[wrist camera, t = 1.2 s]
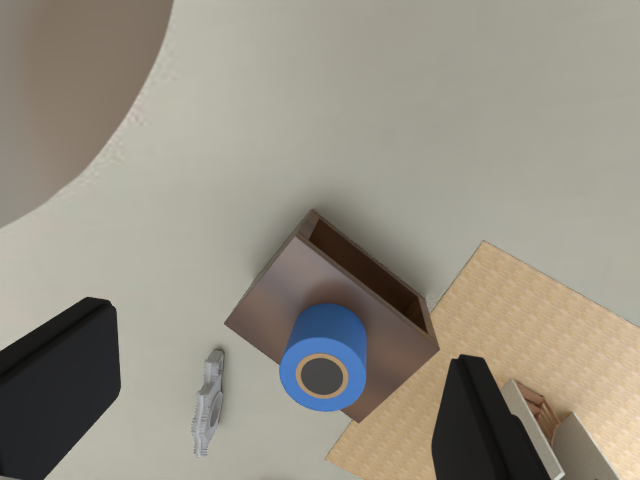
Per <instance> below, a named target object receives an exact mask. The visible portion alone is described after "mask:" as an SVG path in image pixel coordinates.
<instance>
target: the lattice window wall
mask: <svg viewBox="0 0 640 480" xmlns="http://www.w3.org/2000/svg"><path fill="white" fill-rule="evenodd" d="M204 363H205V364H204V365H205V374H204V376H205V377H204V378H205V379H204V385H203V387H202V388H201V390H200V391H197V393H196V394H197V396H198V397H197V405H196V406H197V408H196V411H195V413H196V414H195V418H193V420H194V421H192V423H193V424H192V428H191V429H192V431H191V432H192V434H193V435H192V436H194V439H195V440H194V441H195V447H194V448H195V449H194V451H195V452H194V454H196V455H197V458H200V456H207V454H206V453H207V452H206V451H207V450H208V449H206V448H208V447H207V446H208V444H209V442H210V440H211V438H212V436H213V434H214V432H215V430H216V428H217V426H218V419H219V413H220V410H221V405H222V399H223V394H222V392H220V391H221V377H222V369H223V351H218V350H214V351H213V352H212V353H211V354H210V356H209V357H208V359H207V360H205V362H204Z"/></svg>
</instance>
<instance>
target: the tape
mask: <svg viewBox="0 0 640 480" xmlns="http://www.w3.org/2000/svg"><path fill="white" fill-rule="evenodd" d="M366 343H367V338H366V331H365V328H364V325H363V323H362V322H361V320H360V319H359V318H358V316H357V315H356V314H354V313H353V312H352V311H351V310H349V309H347V308H345V307H343V306H340V305H337V304H331V303H324V304H318V305H314V306H312V307H310V308H308V309H306V310H305V311H303V312H302V313H301V314H300V315H299V317H298V318H297V319H296V321H295V324H294V326H293V329H292V332H291V334H290V337H289V340H288V343H287V346H286V348H285V351H284V354H283V357H282V359H281V362H280V368H279V373H280V379H281V383H282V385H283V387H284V389H285V391H286V392H287V393H288V395H289V396H290V397H291V398H292V399H293V400H295V401H296V402H297V403H299V404H300V405H302V406H304V407H306V408H309V409H312V410H316V411H325V412H328V411H336V410H340V409H343V408H345V407H347V406H349V405H351V404H352V403H353V402H355V401H356V400H357V399H358V398H359V396H360V395H361V393H362V391H363V389H364V387H365V383H366Z"/></svg>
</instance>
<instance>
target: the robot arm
mask: <svg viewBox="0 0 640 480" xmlns="http://www.w3.org/2000/svg"><path fill="white" fill-rule="evenodd" d="M120 388H121V380H120V363H119V346H118V329H117V312H116V308H115V307H114V306H112V304H111V302H110V301H109V300H105V299H98V298H92V297H86V298H84V299H82V300H81V301H79V302H78V303H76V304H74V305H73V306H71V307H70V308H68V309H66V310H65V311H63V312H62V313H60V314H59V315H57V316H55V317H54V318H52V319H51V320H49V321H47V322H46V323H44V324H43V325H41V326H39V327H38V328H36V329H35V330H33V331H32V332H30V333H28V334H27V335H25V336H24V337H22V338H20V339H19V340H17V341H16V342H14V343H12V344H11V345H9V346H8V347H6V348H5V349H3V350H1V351H0V480H44V479H45V478H46V476H47V475H48V474H49V473H50V472H51V471H52V470H53V469H54V468H55V466H56V465H57V464H58V463H59V462H60V461H61V460H62V459H63V458H64V456H65V455H66V454H67V453H68V452H69V451H70V450H71V449H72V448H73V446H74V445H75V444H76V443H77V442H78V441H79V440H80V439H81V438H82V436H83V435H84V434H85V433H86V432H87V431H88V430H89V429H90V428H91V426H92V425H93V424H94V423H95V422H96V421H97V420H98V419H99V418H100V416H101V415H102V414H103V413H104V412H105V411H106V410H107V409H108V408H109V406H110V405H111V404H112V403H113V402H114V401H115V400H116V398H117V397H118V395H119V392H120ZM431 453H432V459H433V464H434V469H435V474H436V480H551V478H550V476H549V474H548V472H547V470H546V468H545V466H544V464H543V462H542V460H541V459H540V457H539V455H538V453H537V451H536V449H535V447H534V445H533V443H532V441H531V439H530V437H529V435H528V433H527V431H526V429H525V427H524V425H523V423H522V421H521V420H520V419H519V417H518V416H516V415H514V414H511V412H510V410H509V408H508V406H507V404H506V402H505V400H504V398H503V396H502V394H501V391H500V389H499V387H498V385H497V383H496V381H495V379H494V377H493V375H492V373H491V371H490V369H489V367H488V365H487V363H486V361H485V359H484V358H483V357H478V356H471V355H465V354H460V355H459V357H458V359H454V358H452V359H451V361H450V365H449V369H448V373H447V378H446V382H445V386H444V390H443V394H442V399H441V403H440V407H439V411H438V415H437V420H436V424H435V428H434V432H433V437H432V443H431Z"/></svg>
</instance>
